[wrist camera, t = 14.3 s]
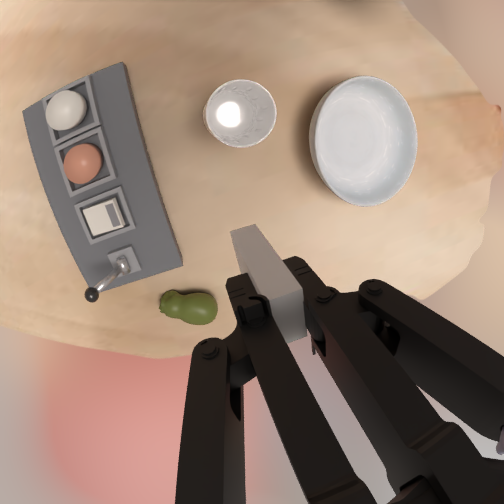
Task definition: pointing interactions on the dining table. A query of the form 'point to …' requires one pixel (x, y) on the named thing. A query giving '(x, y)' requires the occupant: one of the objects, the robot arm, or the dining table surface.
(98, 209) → the rocker switch
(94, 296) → the toggle lever
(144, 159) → the switch panel
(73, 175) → the terracotta button
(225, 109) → the white cup
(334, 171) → the serving bowl
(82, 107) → the cream button
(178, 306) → the green rounded piece
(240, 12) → the dining table surface
